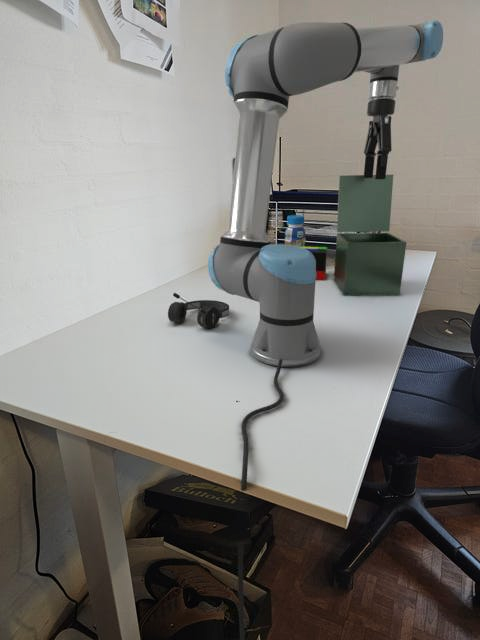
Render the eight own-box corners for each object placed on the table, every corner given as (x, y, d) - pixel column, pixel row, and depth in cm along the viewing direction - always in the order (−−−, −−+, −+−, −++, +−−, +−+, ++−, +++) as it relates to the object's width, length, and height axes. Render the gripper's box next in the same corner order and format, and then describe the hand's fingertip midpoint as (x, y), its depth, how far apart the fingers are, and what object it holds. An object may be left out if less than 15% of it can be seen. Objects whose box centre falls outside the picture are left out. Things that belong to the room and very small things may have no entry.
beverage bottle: (283, 263, 170) (284, 214, 163) (303, 262, 170) (305, 214, 163) (284, 267, 162) (285, 217, 155) (305, 267, 162) (307, 217, 155)
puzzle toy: (296, 278, 147) (297, 251, 143) (299, 272, 156) (300, 246, 152) (324, 280, 145) (326, 252, 141) (325, 273, 154) (327, 247, 150)
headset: (155, 290, 101) (197, 279, 118) (156, 327, 103) (196, 311, 121) (201, 297, 95) (238, 284, 113) (201, 335, 98) (237, 317, 115)
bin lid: (393, 174, 132) (385, 177, 140) (339, 175, 133) (335, 178, 141) (389, 231, 137) (382, 230, 145) (337, 232, 137) (333, 231, 145)
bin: (399, 295, 127) (406, 242, 121) (343, 295, 128) (347, 242, 122) (383, 280, 143) (388, 232, 137) (333, 280, 144) (337, 233, 138)
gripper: (410, 92, 103) (399, 179, 110) (382, 105, 126) (375, 177, 134) (381, 92, 103) (372, 180, 111) (358, 106, 126) (352, 177, 134)
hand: (373, 178), depth 122 cm, fingers open, 13 cm apart
